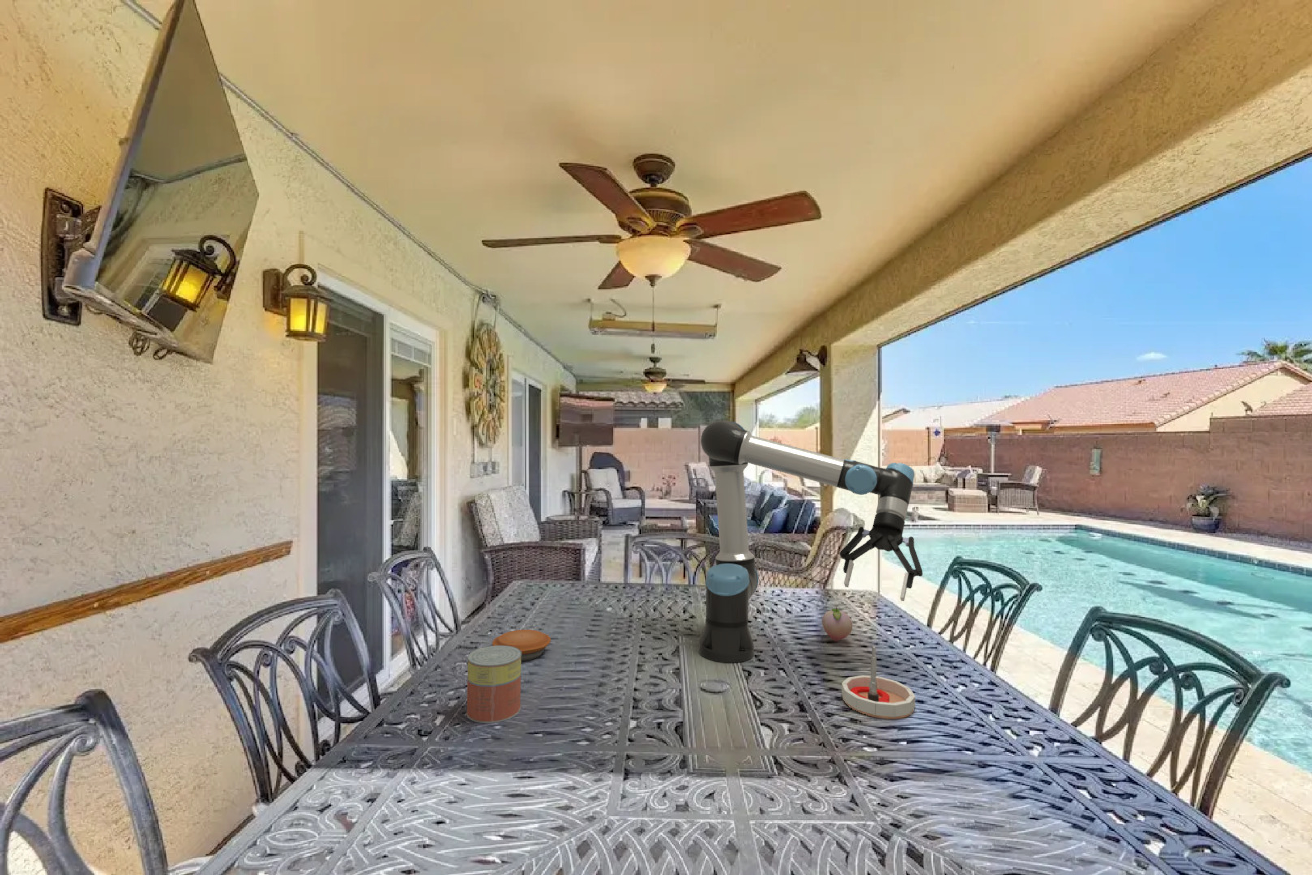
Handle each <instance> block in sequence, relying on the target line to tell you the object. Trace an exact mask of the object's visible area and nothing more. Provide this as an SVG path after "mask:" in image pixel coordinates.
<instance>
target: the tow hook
mask: <svg viewBox="0 0 1312 875" xmlns="http://www.w3.org/2000/svg"><path fill="white" fill-rule="evenodd" d="M876 652H877V651H876V646H872V647H871V655H870V676H871V680H870V682H869V687H854V688H852V689H851V692H853V693H854V694H856V695H858V696H859V697H862V698H865V699H867V698H866V697H864V696H861V695H859V694H858V693H859V692H868V699H869V700H872V701H875V702H886V703H889V699H890V696H889V695H888V694H887V693H886V692H884V691H882V690H879V689H877V682H876V676H877V656H876ZM879 695H880V696H881V698H879Z"/></svg>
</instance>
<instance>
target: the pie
mask: <svg viewBox="0 0 1312 875" xmlns="http://www.w3.org/2000/svg"><path fill="white" fill-rule="evenodd" d="M551 641H552V639H551V637H550V635H549V634H547V633H544V632H542V631H540V630H539V631H538V630H534V629H516V630H512V631H507V632H504V633H502V634H501V635H498V636H496V637H495V638H494V639H493V641H492V642H491V646H497V645H504V646H512V647H515V648H518V649H519V650H520V651H521V652H522V655H521V662H526V661H531V660H534V659H537V658H539V657H540V656H541V655H542V654H543V653H544V651H545V649H546V648H547V647H548V645H549V644H550V643H551Z"/></svg>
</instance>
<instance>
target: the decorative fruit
mask: <svg viewBox="0 0 1312 875" xmlns="http://www.w3.org/2000/svg"><path fill="white" fill-rule="evenodd" d="M821 618H822V620H821V622H822V627H823V630H824V632H825V633H826V635H827V636H828V637H829V638H830V639H832V640H833V641H835V642H838V641H841V640H844V639H846V638H847V637H849V635H850V634H851V632H852V630H853V621H852V618H851V617H850V616H849V614H848V613H846V612H844V611H842V610H840V609H839V608H838V606H836V608H832V609H831V610H828V611H826V612H825V613H824V614H823V616H822V617H821Z"/></svg>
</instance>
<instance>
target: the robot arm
mask: <svg viewBox="0 0 1312 875" xmlns="http://www.w3.org/2000/svg"><path fill="white" fill-rule="evenodd" d="M700 445H701V449H702V450H703V452H704V453H705V454H706V456H707V457H708V463H709V469H711V470H712V471H713V472H714V477H715V492H716V493H715V494H716V495H715V496H716V509H717V524H718V525H717V526H718V537H719V538H718V539H719V540H718V542H719V552H718V553H717V555H716V556H715V564H714V565H713V566H711V567H710V568H708V570H707V572H706V578H705V585H706V587H705V589H706V590H705V596H706V597H705V625H704V627H703V630H702V633H701V636H700V640H699V642H698V643H699V644H698V652H699V654H700V655H701V656H702V657H704V658H706V659H708V660H712V661H715V662H719V663H741V662H746V661H749V660H751V659H753V657H754V655H755V646H754V645H755V644H754V641H753V639H752V635H751V632H750V629H749V600H751V598H752V597H753V595H754V594H755V593H756V590H757V588H758V586H759V573H758V570H757V569H756V562H755V560H756V559H755V555H754V554H753V553H752V552H751V551H750V548H749V535H748V534H749V533H748V519H747V518H748V517H747V505H746V504H747V502H746V493H745V492H746V491H745V490H746V489H745V476H744V470H745V469H746V468H747V466H748V465H749V464H752V465H755V466H758V467H761V468H766V469H769V470H773V471H777V472H780V473H785V474H788V475H791V476H794V477H798V478H803V479H806V480H809V481H813V482H817V483H820V484H824V485H828V486H831V487H835V488H839V489H841V490H844V491H849V492H851V493H853V494H856V495H861V496H862V495H867V494H869V493H870V494H874V495H877V496H878V495H879V500H878V502H877V505H876V506H877V507H876V509H875V510H876V511H875V513H876V514H875V515H874V520H873V524H872V528H871V529H870V530H869V529H865V528H864V527H863V526H860V527H858V530H857V533H856V534H855V535H854V536H853V537H852V539H851V540H850V541H848V543H847V544H846V545H845V546H844V547H843V548H842V549H840V550H841V551H840V552H839V556H840V558H841V559H842V560H844V564H843V568H842V569H843V573H844V574H845V577H844V582H843V586H844V587H845V588H849V586H850V581H851V579H852V578H851V577H852V574H853V569H854V565H855V563H854V561H855V560H857V559H858V558H860V557H861V556H863V555H865V553H867V552H869V551H871V550H873V549H875V548H876V549H877V550H880V551H883V550H884V551H886V552H892V551H893V553H894V555H896V557H897V559H898V560H899V562H900V563H901V565H902V567H904V570H905V571H906V572H904V576H903V577H904V578H903V582H902V586H901V591H900V602H901V601H902V602H905V600H906V599H905V597H906V594H907V589H912V588H913V584H914V579H915V577H922V576H923V569H922V565H921V563H920V560H919V557H918V554H917V551H916V549H915V539H914V536H909V537H903V533H904V529H905V528H904V527H905V523H906V521H905V520H906V518H907V515H908V509H909V504H910V500H911V495H912V491H913V487H914V479H915V471H914V469H913V468H912V467H911V466H910V465H907V464H906V463H902V462H898V463H897V462H891V463H890V464H887V466H886V467H885V468H884V467H878V466H875V465H871V464H868V463H865V462H861V461H857V460H853V459H846V458H845V459H842V458H839V457H835V456H831V455H827V454H823V453H821V452H817V451H812V450H808V449H804V448H801V447H797V446H793V445H790V444H786V443H781V442H778V441H774V440H769V439H766V438H762V437H758V436H755V435H752V433H751V431H750V430H746V429H745V428H744V427H743V426H742V425H740V424H739V423H738V422H735V421H730V420H716V421H715V420H714V421H713V422H710V423H709V424H708V425H707V426H705V428H704V429H703V431H702V432H701V436H700ZM867 536H869V539H868V540H867V541H866V542H864V544H862V545H860V546H858V545H859V544H860V542H862V540H863V539H865V538H867ZM903 543H904V545H905V547H908V551H909V555H910V557H911V560H912V563H913V566H914V568H915V569H914V568H913V567H912V565H911V564H910V563H909V561H908V559H907V558H906V556H905V554H904V553H903V551H902V550H901V548H900V546H901V545H902V544H903ZM857 546H858V547H857ZM856 547H857V548H856ZM855 548H856V549H855Z"/></svg>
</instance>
